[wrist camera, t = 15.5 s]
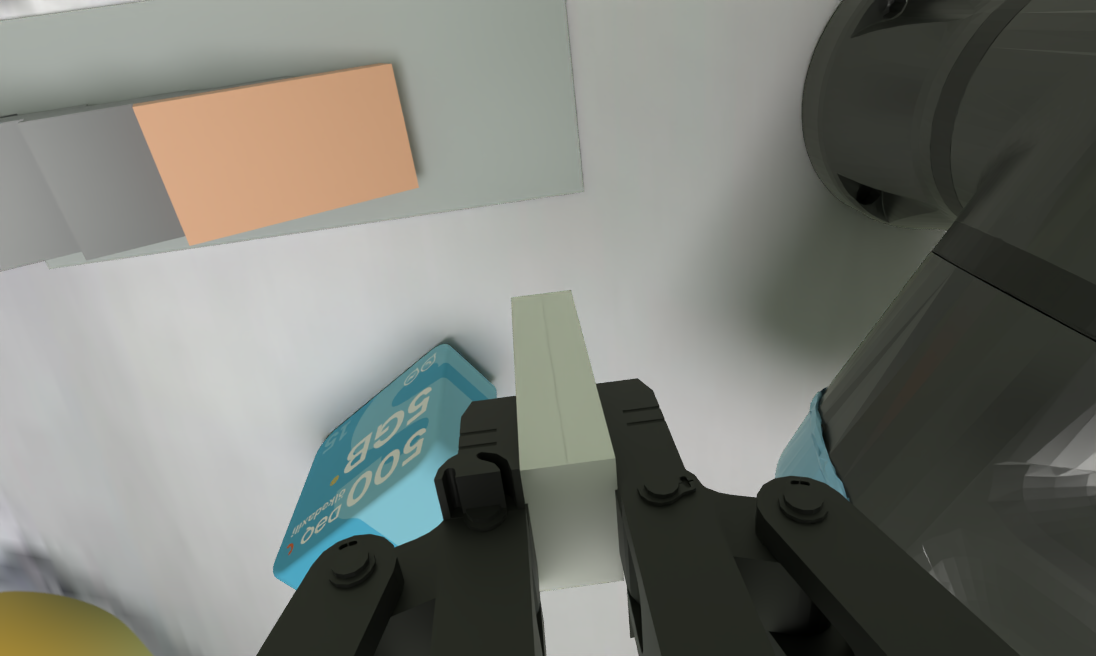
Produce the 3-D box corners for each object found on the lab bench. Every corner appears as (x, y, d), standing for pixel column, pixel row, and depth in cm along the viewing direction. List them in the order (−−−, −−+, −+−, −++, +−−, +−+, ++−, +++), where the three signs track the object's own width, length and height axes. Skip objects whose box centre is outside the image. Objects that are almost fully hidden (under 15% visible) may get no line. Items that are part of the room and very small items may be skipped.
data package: (449, 333, 39) (434, 455, 28) (498, 378, 41) (501, 509, 30) (319, 440, 42) (262, 588, 31) (370, 478, 44) (332, 630, 33)
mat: (558, -55, 30) (559, -56, 30) (582, 190, 35) (583, 191, 35) (-71, 31, 29) (-79, 31, 29) (53, 266, 35) (49, 269, 34)
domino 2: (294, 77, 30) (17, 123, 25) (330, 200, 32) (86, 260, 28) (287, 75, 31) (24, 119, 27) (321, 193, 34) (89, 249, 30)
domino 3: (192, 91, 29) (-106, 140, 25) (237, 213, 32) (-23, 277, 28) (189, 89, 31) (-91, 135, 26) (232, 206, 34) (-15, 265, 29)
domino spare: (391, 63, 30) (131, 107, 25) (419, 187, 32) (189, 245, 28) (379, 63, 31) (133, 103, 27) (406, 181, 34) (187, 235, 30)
